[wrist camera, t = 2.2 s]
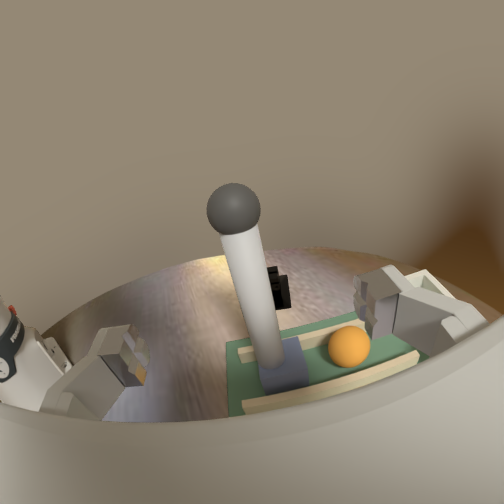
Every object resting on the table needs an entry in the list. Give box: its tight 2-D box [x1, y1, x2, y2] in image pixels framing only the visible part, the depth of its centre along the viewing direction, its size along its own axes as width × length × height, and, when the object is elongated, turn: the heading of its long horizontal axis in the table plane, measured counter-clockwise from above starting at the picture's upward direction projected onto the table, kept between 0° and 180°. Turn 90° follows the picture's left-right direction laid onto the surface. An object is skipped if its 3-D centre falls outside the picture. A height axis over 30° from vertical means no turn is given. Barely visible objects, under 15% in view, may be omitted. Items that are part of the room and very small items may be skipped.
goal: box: [238, 269, 455, 415], centre depth 29 cm, size 28×13×5 cm, turn 95°
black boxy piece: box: [267, 266, 291, 310], centre depth 45 cm, size 12×7×5 cm, turn 178°
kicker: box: [207, 183, 310, 396], centre depth 24 cm, size 6×5×22 cm
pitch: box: [226, 311, 430, 417], centre depth 30 cm, size 31×16×1 cm, turn 95°
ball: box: [328, 326, 370, 368], centre depth 29 cm, size 5×5×5 cm
